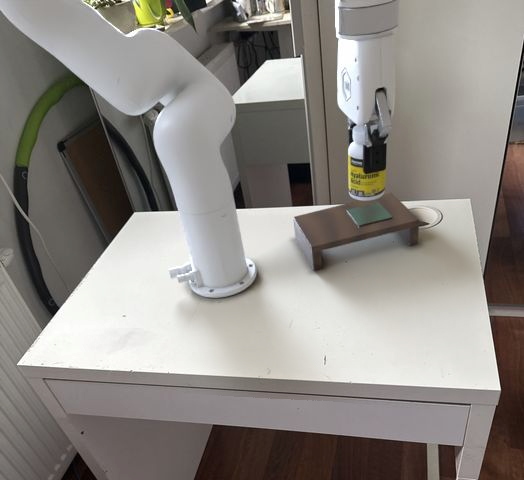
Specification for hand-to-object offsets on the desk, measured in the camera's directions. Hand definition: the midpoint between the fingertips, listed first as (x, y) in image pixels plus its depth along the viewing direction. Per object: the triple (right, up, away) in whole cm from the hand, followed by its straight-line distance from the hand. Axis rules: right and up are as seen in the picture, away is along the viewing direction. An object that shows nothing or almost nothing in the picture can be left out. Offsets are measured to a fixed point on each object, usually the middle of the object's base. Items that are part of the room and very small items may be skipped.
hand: (366, 162), depth 75 cm
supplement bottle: (+1, -4, +3) cm, 5 cm away
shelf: (+2, -7, +24) cm, 25 cm away
